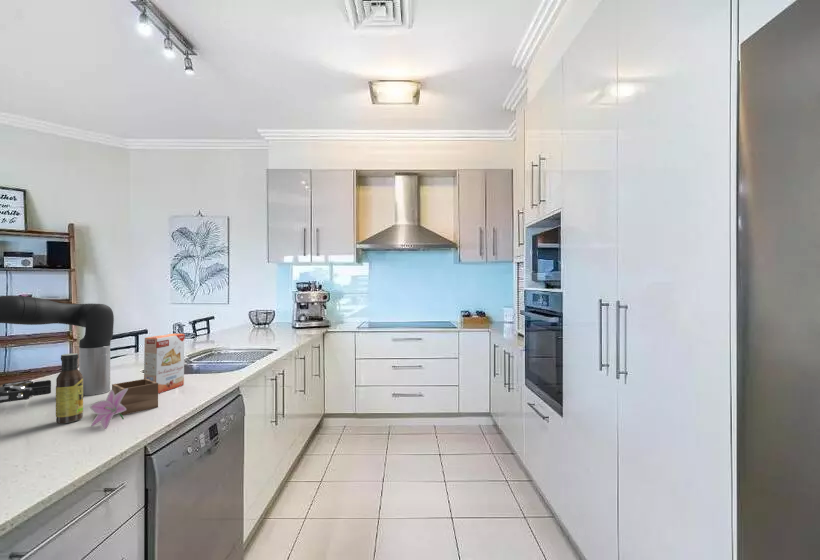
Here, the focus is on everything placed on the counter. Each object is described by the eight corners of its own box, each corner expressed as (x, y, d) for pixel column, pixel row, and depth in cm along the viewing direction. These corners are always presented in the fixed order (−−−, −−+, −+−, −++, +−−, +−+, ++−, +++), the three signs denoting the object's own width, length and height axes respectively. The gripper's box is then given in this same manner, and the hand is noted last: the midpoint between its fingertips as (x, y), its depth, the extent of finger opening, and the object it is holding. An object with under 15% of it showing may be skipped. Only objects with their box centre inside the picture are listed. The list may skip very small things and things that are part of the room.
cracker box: (156, 394, 148) (157, 337, 148) (142, 394, 149) (143, 337, 150) (185, 385, 162) (185, 333, 162) (172, 384, 163) (172, 332, 163)
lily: (91, 423, 121) (76, 400, 117) (134, 401, 129) (122, 378, 124) (101, 446, 114) (86, 422, 109) (146, 420, 121) (134, 397, 116)
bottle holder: (111, 408, 132) (112, 384, 132) (146, 401, 140) (146, 378, 140) (122, 415, 126) (122, 389, 126) (158, 407, 134) (158, 383, 134)
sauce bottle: (84, 420, 121) (84, 354, 121) (56, 426, 116) (56, 357, 116) (81, 415, 125) (81, 351, 125) (55, 420, 121) (55, 354, 121)
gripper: (-35, 388, 102) (51, 378, 113) (-27, 378, 113) (50, 369, 123) (-35, 418, 102) (51, 404, 113) (-27, 405, 113) (51, 394, 123)
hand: (51, 386), depth 118 cm, fingers open, 8 cm apart
